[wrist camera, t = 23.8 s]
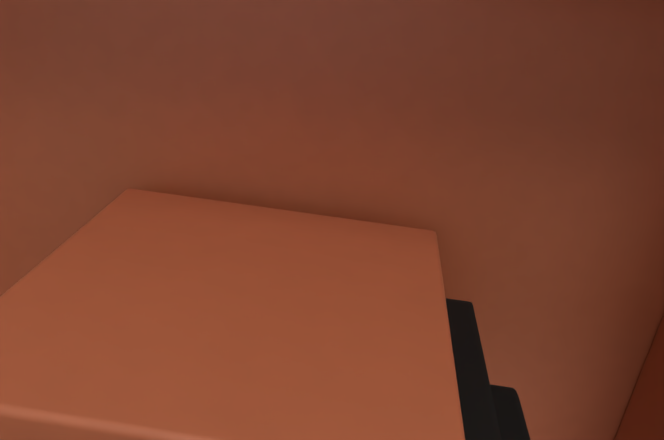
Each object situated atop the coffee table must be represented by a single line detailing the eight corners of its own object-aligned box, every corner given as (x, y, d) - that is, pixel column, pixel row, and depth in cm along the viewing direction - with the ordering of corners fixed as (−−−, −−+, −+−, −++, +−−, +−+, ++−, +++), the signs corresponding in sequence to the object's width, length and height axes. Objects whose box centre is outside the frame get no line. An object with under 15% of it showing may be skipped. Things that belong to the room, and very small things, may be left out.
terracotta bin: (850, -73, 8) (1155, -95, 5) (565, 612, 14) (615, 810, 11) (-165, -185, 9) (-497, -269, 6) (-28, 510, 15) (-150, 667, 12)
